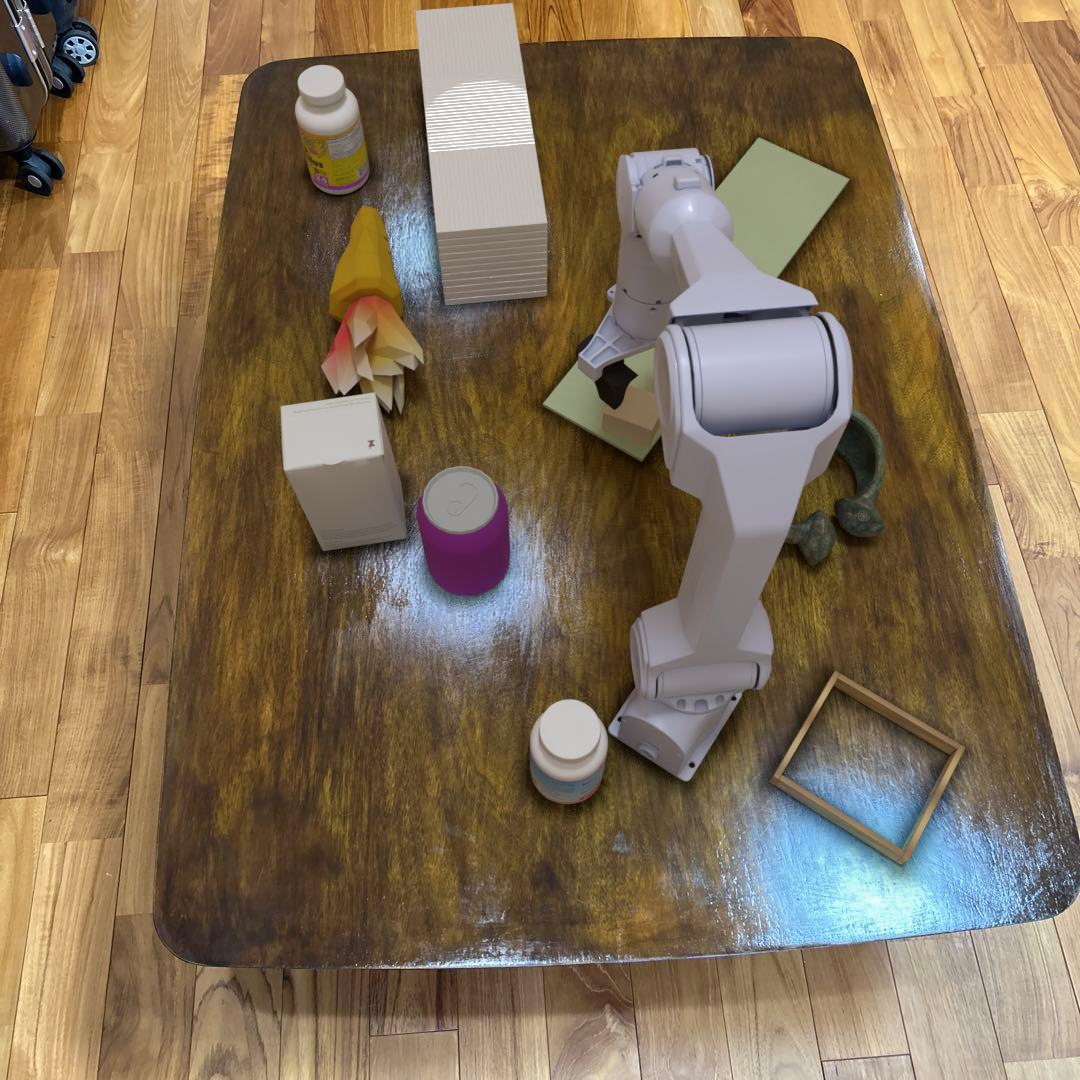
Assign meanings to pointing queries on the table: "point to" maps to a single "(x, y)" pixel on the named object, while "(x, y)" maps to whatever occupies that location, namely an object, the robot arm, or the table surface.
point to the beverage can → (464, 531)
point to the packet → (633, 417)
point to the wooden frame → (904, 721)
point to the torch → (369, 317)
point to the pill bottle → (568, 752)
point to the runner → (762, 236)
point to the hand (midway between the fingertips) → (638, 377)
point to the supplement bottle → (331, 131)
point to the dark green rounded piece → (852, 513)
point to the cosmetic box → (343, 471)
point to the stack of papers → (482, 155)
